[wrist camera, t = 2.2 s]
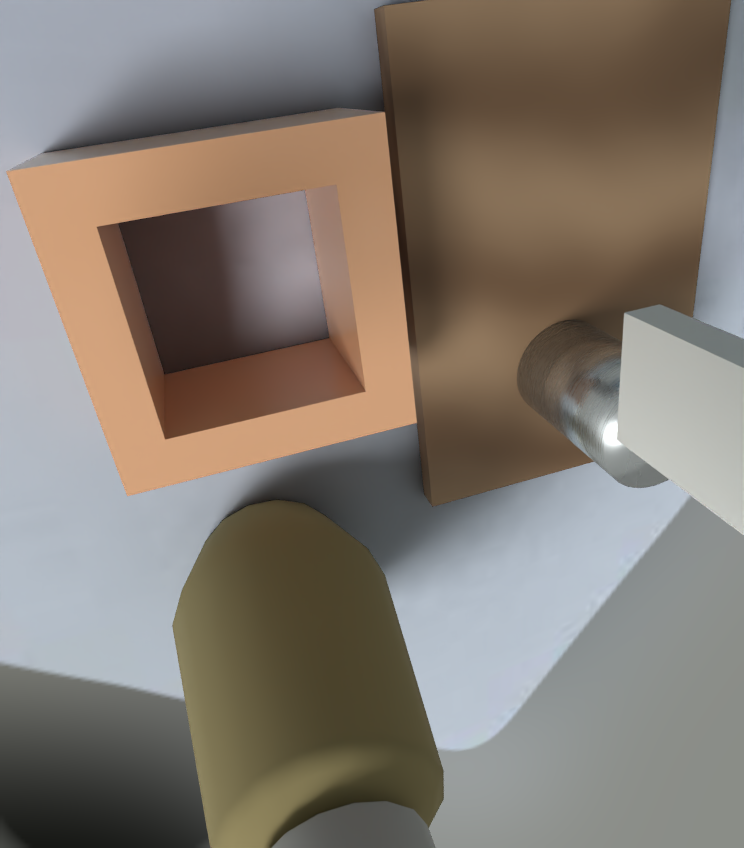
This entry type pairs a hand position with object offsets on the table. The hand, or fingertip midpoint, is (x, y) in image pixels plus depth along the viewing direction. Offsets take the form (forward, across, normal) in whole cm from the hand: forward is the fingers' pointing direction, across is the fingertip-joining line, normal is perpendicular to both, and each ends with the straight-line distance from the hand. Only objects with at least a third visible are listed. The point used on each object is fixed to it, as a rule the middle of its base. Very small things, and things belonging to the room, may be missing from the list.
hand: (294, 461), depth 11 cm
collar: (+12, 0, 0) cm, 13 cm away
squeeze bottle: (+13, -1, -12) cm, 17 cm away
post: (+12, +12, -6) cm, 18 cm away
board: (+12, +12, -2) cm, 17 cm away
